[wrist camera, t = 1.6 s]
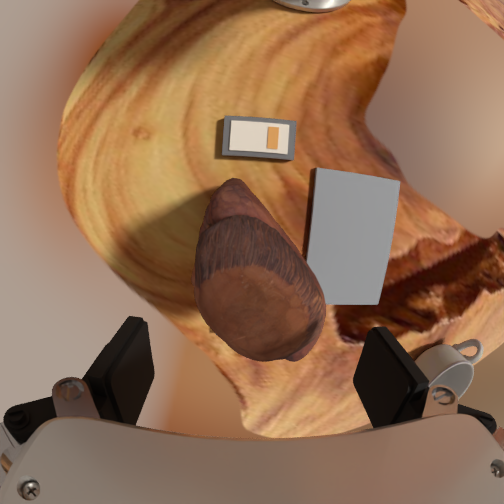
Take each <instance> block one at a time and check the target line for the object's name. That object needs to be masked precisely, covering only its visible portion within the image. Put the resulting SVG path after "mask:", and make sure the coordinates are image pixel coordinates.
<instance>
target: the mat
mask: <svg viewBox="0 0 504 504" xmlns="http://www.w3.org/2000/svg"><path fill="white" fill-rule="evenodd" d="M399 188H400V181H396V180H391V179H386V178H380V177H375V176H369V175H363V174H357V173H351V172H344V171H337V170H330V169H323V168H316V169H315V181H314V192H313V202H312V212H311V221H310V230H309V238H308V247H307V254H306V263H307V264H308V265H309V267H310V268H311V270H312V271H313V273H314V274H315V276H316V278H317V280H318V282H319V284H320V286H321V288H322V291H323V294H324V298H325V303H326V304H339V305H370V304H378V302H379V298H380V294H381V290H382V286H383V282H384V277H385V273H386V268H387V264H388V259H389V254H390V249H391V243H392V238H393V232H394V226H395V219H396V212H397V205H398V197H399Z"/></svg>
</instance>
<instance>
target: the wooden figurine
mask: <svg viewBox="0 0 504 504" xmlns="http://www.w3.org/2000/svg"><path fill="white" fill-rule="evenodd" d="M191 281H192V284H193V286H194V296H195V301H196V304H197V307H198V309H199V311H200V313H201V315H202V317H203V319H204V320H205V322H206V324H207V325H209V326H210V328H211V329H212V330H213V331H214V332H215V333H216V334H217V335H218V336H219V337H220V338H221V339H222V340H223V341H225V342H226V343H227V344H228V346H230V347H231V348H232V349H233V350H234V351H236V352H237V353H238V354H240V355H242V356H245V357H247V358H249V359H252V360H256V361H262V362H264V361H273V360H279V359H286V360H289V361H293V362H295V361H298V360H300V359H302V358H303V357H305V356H306V355H307V354H308V353H309V351H310V350H311V349H312V347H313V346H314V345H315V343H316V342H317V340H318V338H319V336H320V334H321V332H322V329H323V325H324V321H325V316H326V303H325V298H324V294H323V291H322V288H321V286H320V284H319V282H318V280H317V278H316V276H315V274H314V273H313V271H312V270H311V268H310V267H309V265H308V264H307V263H306V261H305V260H304V258H303V256H302V255H301V254H300V252H299V250H298V249H297V247H296V246H295V245H294V243H293V242H292V241H291V240H290V238H289V237H288V236H287V235H286V233H285V232H284V231H283V229H282V228H281V227H280V225H279V224H278V223H277V222H276V221H275V220H274V218H273V217H272V216H271V214H270V213H269V212H268V210H267V209H266V208H265V206H264V205H263V204H262V203H261V202H260V201H259V199H258V198H257V197H256V196H255V195H254V194H253V193H252V192H251V191H250V189H249V188H248V186H247V185H246V184H245V183H244V182H243V181H242V180H240V179H237V178H231V179H229V180H227V181H225V182H224V183H223V184H222V185H221V187H220V188H219V189H218V190H217V191H216V192H215V193H214V194H213V195H212V197H211V200H210V204H209V205H208V207H207V209H206V212H205V216H204V221H203V224H202V226H201V228H200V233H199V241H198V244H197V247H196V257H195V265H194V269H193V272H192V277H191Z"/></svg>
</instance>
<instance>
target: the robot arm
mask: <svg viewBox="0 0 504 504" xmlns="http://www.w3.org/2000/svg"><path fill="white" fill-rule="evenodd" d="M273 1H275V2H276V3H279V4H281V5H284V6H286V7H289V8H293V9H296V10H302V11H307V12H329V11H334V10H337V9H340V8H342V7H344V6H345V5H347V4H348V3H349V1H350V0H273ZM153 379H154V365H153V360H152V353H151V346H150V339H149V332H148V325H147V322H145V321H144V320H143V318H141V317H133V316H129V317H128V318H127V319H126V321H125V322H124V323H123V325H122V326H121V327H120V329H119V330H118V331H117V333H116V334H115V335H114V337H113V338H112V340H111V341H110V342H109V343H108V344H107V345H106V346H105V347H104V349H103V350H102V351H101V353H100V354H99V355H98V357H97V358H96V360H95V361H94V363H93V364H92V365H91V367H90V368H89V370H88V371H87V372H86V374H85V375H84V377H83V378H82V379H79V378H76V377H67V378H64V379H61V380H59V381H58V382H57V383H56V384H55V385H54V386H53V389H52V396H51V397H47V398H43V399H40V400H36V401H32V402H28V403H24V404H20V405H16V406H13V407H11V408H10V409H8V410H7V412H6V413H5V415H4V421H3V422H2V423H0V504H504V429H503V428H502V427H499V428H498V429H497V428H496V427H497V425H496V422H495V419H494V418H493V417H492V416H491V415H490V414H487V413H485V412H482V411H479V410H475V409H472V408H469V407H466V406H463V405H460V404H458V396H457V394H456V392H455V391H454V390H453V389H451V388H450V387H448V386H445V385H434V386H432V387H431V388H429V386H428V384H429V382H430V381H429V380H428V379H427V377H426V376H425V375H424V373H423V372H422V371H421V369H420V368H419V367H418V366H417V364H416V363H415V362H414V361H413V359H412V358H411V357H410V356H409V354H408V353H407V352H406V351H405V349H404V348H403V347H402V346H401V344H400V343H399V342H398V341H397V340H396V338H395V337H394V336H393V335H392V333H391V332H390V331H389V330H388V329H387V328H386V327H373V328H372V329H371V330H370V331H369V332H368V334H367V337H366V340H365V344H364V347H363V350H362V353H361V356H360V359H359V362H358V365H357V368H356V371H355V374H354V377H353V384H354V386H355V388H356V391H357V393H358V395H359V397H360V399H361V401H362V404H363V406H364V408H365V410H366V412H367V415H368V417H369V419H370V421H371V423H372V426H373V429H366V430H361V431H354V432H348V433H340V434H332V435H323V436H312V437H297V438H266V439H259V438H256V439H255V438H227V437H213V436H212V437H211V436H201V435H191V434H184V433H176V432H169V431H163V430H157V429H151V428H146V427H140V426H136V423H137V420H138V417H139V415H140V412H141V410H142V407H143V404H144V402H145V399H146V397H147V394H148V392H149V389H150V386H151V384H152V381H153Z"/></svg>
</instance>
